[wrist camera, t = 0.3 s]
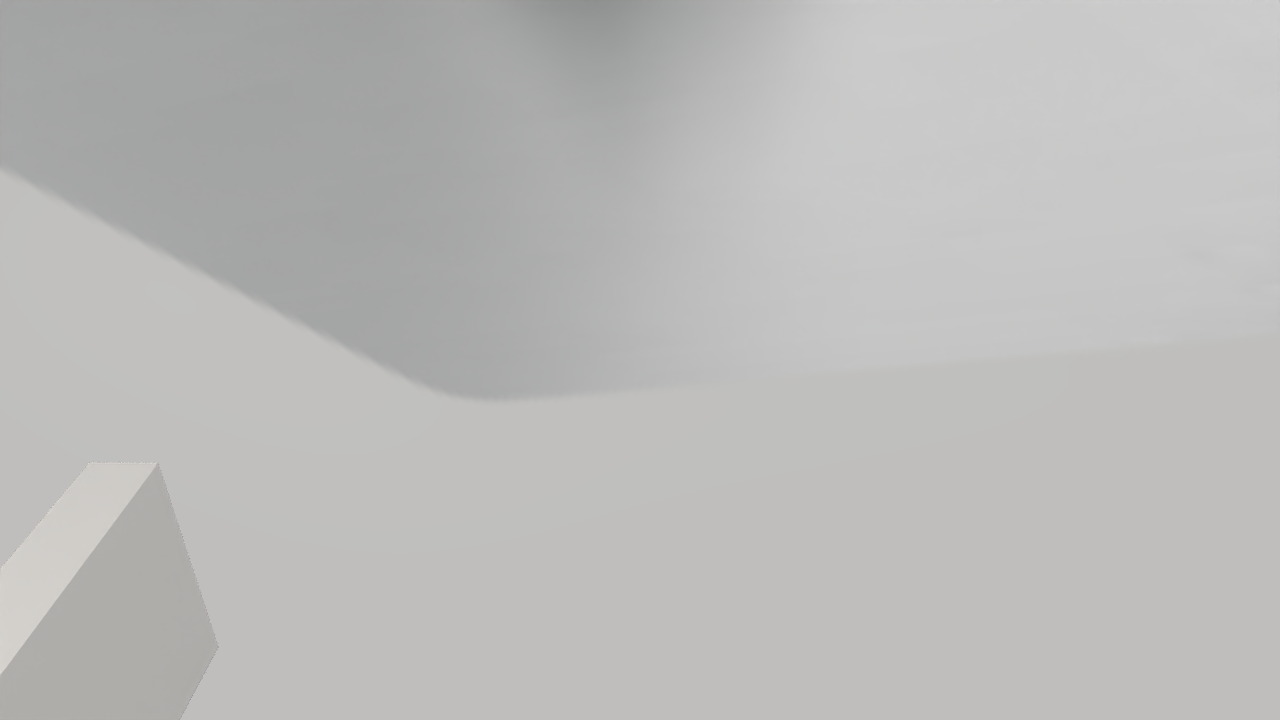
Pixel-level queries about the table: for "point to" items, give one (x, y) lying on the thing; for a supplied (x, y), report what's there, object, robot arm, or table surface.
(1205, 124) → the table surface
